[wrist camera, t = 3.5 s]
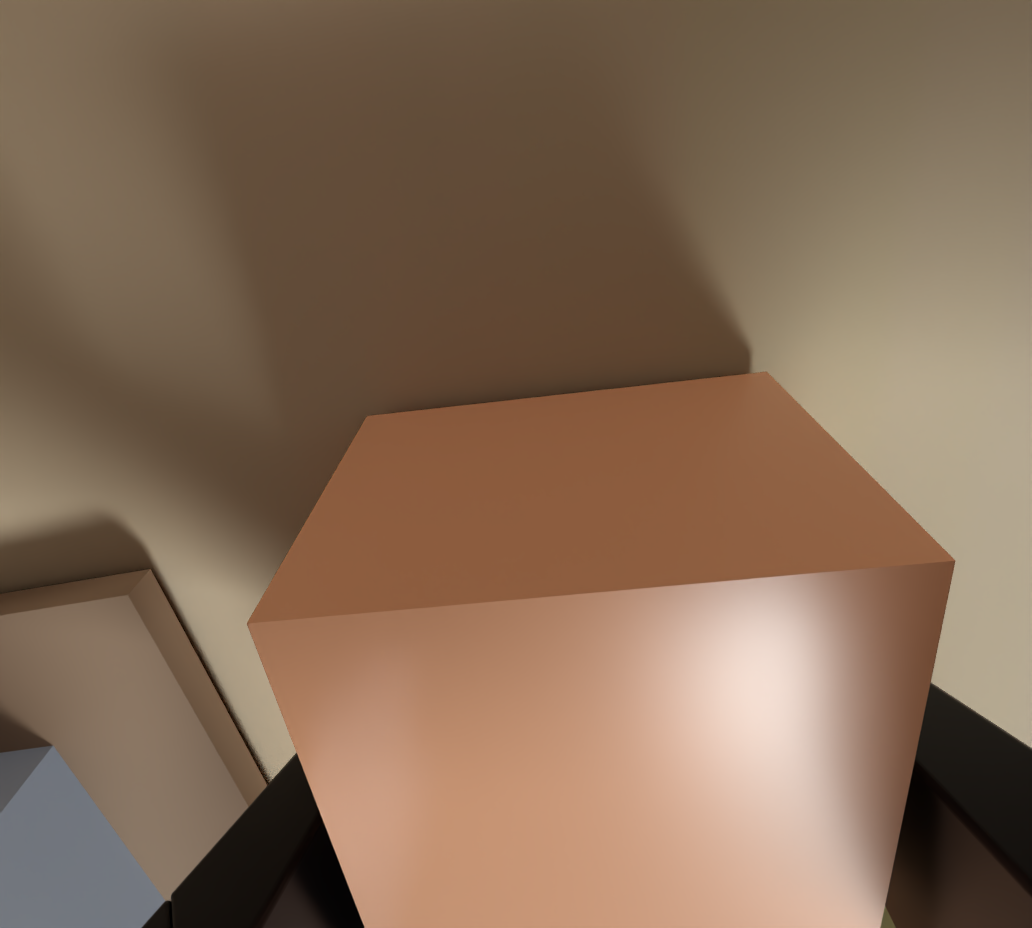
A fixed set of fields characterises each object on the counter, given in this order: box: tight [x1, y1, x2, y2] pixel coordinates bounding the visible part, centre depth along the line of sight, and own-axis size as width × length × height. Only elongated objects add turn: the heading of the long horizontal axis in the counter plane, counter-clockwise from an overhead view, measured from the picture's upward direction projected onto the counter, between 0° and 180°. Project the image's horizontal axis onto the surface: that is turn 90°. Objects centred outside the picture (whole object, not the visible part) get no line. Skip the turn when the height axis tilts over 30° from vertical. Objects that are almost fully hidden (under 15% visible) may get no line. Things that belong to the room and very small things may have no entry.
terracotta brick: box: [247, 372, 955, 928], centre depth 8 cm, size 5×7×4 cm
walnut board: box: [0, 569, 267, 901], centre depth 12 cm, size 10×12×1 cm
